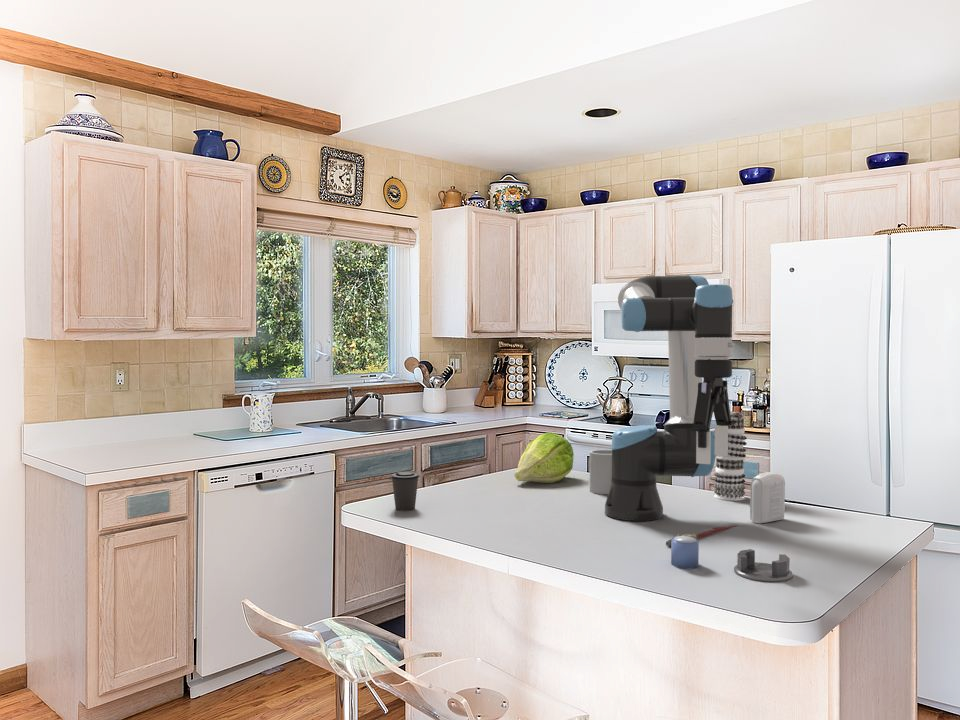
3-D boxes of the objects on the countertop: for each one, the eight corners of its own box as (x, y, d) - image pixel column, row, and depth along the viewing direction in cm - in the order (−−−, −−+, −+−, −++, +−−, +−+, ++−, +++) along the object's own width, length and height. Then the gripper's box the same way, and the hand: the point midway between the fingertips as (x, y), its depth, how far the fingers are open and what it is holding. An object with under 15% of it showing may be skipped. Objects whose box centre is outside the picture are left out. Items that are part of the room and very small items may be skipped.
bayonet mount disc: (727, 575, 152) (727, 558, 152) (742, 561, 161) (742, 545, 161) (785, 585, 146) (785, 567, 146) (798, 570, 155) (798, 553, 155)
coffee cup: (385, 510, 208) (384, 473, 208) (399, 504, 216) (398, 468, 216) (411, 512, 205) (411, 475, 205) (425, 506, 213) (424, 470, 213)
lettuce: (541, 501, 237) (505, 497, 248) (588, 467, 253) (552, 465, 265) (528, 456, 234) (492, 455, 245) (577, 425, 250) (541, 425, 262)
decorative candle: (706, 495, 226) (706, 411, 225) (730, 493, 230) (731, 410, 229) (727, 502, 218) (728, 414, 217) (752, 499, 221) (753, 412, 220)
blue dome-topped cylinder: (667, 565, 159) (667, 539, 159) (676, 559, 163) (676, 534, 163) (693, 570, 156) (693, 543, 155) (702, 563, 160) (702, 537, 160)
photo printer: (772, 516, 201) (773, 469, 201) (787, 519, 197) (787, 471, 197) (747, 521, 195) (747, 473, 195) (761, 525, 192) (762, 476, 191)
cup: (622, 494, 228) (622, 454, 228) (591, 494, 228) (591, 454, 228) (617, 488, 237) (617, 449, 237) (587, 488, 237) (587, 449, 237)
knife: (653, 546, 175) (672, 548, 171) (653, 538, 175) (671, 540, 171) (721, 528, 194) (740, 530, 190) (721, 521, 194) (739, 523, 191)
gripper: (715, 359, 148) (714, 469, 149) (745, 357, 169) (745, 453, 170) (676, 359, 152) (676, 465, 153) (711, 357, 173) (711, 451, 174)
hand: (712, 459), depth 161 cm, fingers open, 13 cm apart
